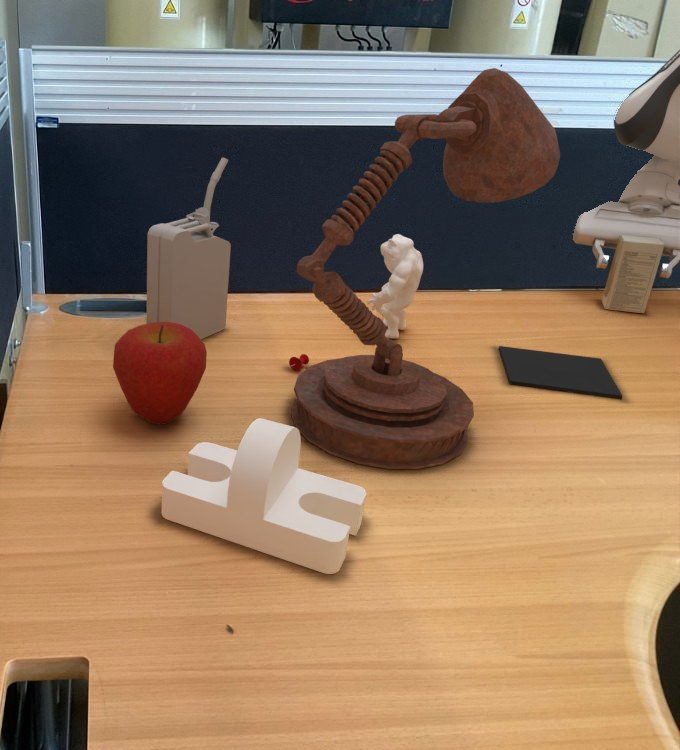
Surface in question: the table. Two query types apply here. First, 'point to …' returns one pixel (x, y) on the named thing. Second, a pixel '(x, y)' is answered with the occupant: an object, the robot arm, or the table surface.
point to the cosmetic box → (632, 273)
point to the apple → (159, 369)
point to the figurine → (398, 283)
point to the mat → (558, 372)
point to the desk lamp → (386, 368)
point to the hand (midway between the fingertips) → (632, 271)
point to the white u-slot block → (266, 498)
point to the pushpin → (298, 362)
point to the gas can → (189, 270)
